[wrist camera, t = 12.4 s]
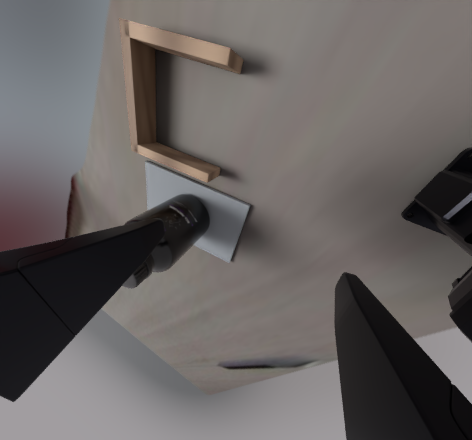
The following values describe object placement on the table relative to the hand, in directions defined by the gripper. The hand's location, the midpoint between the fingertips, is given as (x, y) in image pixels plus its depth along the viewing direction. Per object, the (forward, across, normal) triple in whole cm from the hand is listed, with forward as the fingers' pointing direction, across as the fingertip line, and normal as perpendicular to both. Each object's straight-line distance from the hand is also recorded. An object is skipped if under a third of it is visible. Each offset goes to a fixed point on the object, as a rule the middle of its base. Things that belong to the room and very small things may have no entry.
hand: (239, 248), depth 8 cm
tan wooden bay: (+13, +11, -5) cm, 18 cm away
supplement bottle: (+13, +12, +7) cm, 19 cm away
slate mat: (+13, +12, +8) cm, 19 cm away
